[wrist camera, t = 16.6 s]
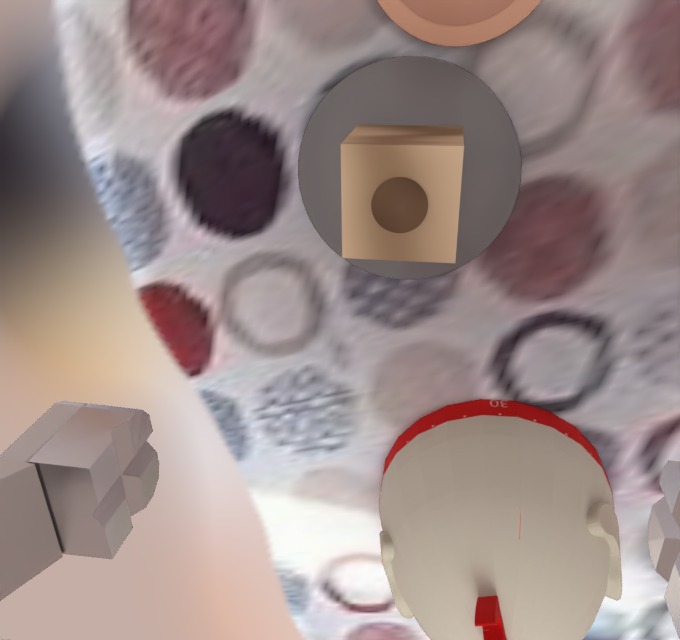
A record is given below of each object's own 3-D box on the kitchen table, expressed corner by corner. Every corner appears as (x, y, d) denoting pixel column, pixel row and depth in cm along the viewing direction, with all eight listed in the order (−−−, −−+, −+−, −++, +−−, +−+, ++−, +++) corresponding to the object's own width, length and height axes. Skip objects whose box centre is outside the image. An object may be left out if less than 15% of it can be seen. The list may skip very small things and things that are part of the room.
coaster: (533, 55, 28) (535, 55, 27) (507, 280, 32) (508, 284, 32) (295, 56, 29) (292, 57, 29) (304, 270, 34) (302, 274, 34)
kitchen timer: (415, 578, 44) (398, 824, 30) (354, 422, 38) (301, 637, 25) (623, 556, 40) (707, 828, 26) (586, 378, 34) (668, 607, 21)
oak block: (462, 125, 29) (464, 146, 24) (455, 227, 31) (455, 264, 27) (357, 124, 30) (340, 144, 25) (357, 224, 32) (341, 258, 27)
